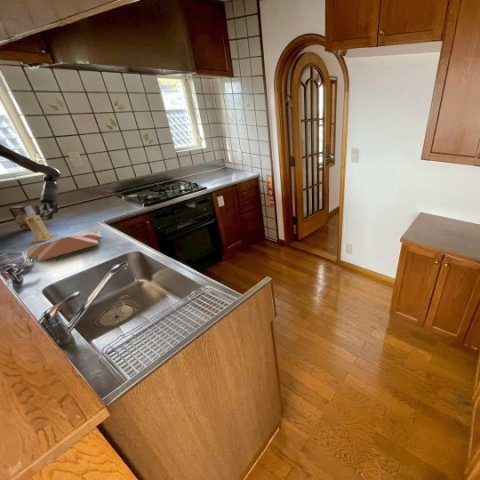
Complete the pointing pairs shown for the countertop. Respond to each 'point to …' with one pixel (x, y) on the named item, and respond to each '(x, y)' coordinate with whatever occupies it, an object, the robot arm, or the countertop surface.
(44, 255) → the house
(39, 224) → the flush bracket
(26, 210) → the coffee box
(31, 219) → the flush lever
